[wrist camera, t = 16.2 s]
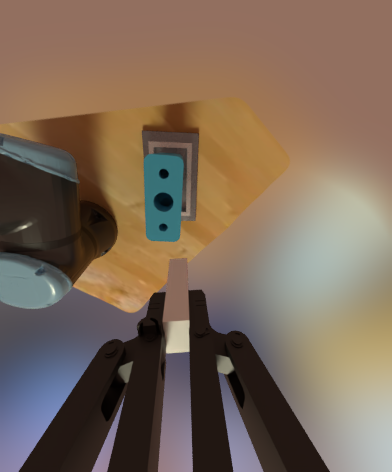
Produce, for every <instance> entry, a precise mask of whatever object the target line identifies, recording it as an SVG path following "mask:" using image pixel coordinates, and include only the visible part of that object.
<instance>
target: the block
mask: <svg viewBox="0 0 392 472" xmlns="http://www.w3.org/2000/svg"><path fill="white" fill-rule="evenodd" d="M183 169H184V163H183V157H182V156H181V155H180V154H174V153H154V154H148V155H147V156H146V157H145V158H144V186H145V217H146V236H147V238H148V239H149V240H151V241H168V242H175V241H177V240H178V239H179V238H180V226H181V207H182V188H183Z"/></svg>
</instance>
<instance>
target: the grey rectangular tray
mask: <svg viewBox="0 0 392 472" xmlns="http://www.w3.org/2000/svg"><path fill="white" fill-rule="evenodd" d="M198 138H199V133H179V132H158V131H142V139H143V152H144V158H145V157H146V156H147V155H148V154H154V153H174V154H180V155H181V156H182V157H183V163H184V169H183V188H182V207H181V221H195V217H196V191H197V165H198Z"/></svg>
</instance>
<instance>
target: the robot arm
mask: <svg viewBox="0 0 392 472" xmlns="http://www.w3.org/2000/svg"><path fill="white" fill-rule="evenodd" d="M79 184H80V181H79V180H78V175H77V166H76V161H75V159H74V157H73V156H72V155H71V154H70V153H68V152H67V151H65V150H62V149H59V148H56V147H52V146H49V145H45V144H41V143H38V142H34V141H30V140H26V139H22V138H18V137H14V136H10V135H6V134H2V133H0V301H2V302H4V303H6V304H9V305H12V306H16V307H21V308H29V309H36V308H44V307H48V306H51V305H53V304H54V303H56V302H58V301H59V300H60V299H61V298H62V297H63V296H64V295H65V294H66V293H67V292H69V291H70V290H71V288H72V286H73V285H74V283H75V282H76V281H77V279H78V278H79V277H80V276H81V274H82V273H83V272H84V271H85V269H86V268H87V267H88V266H89V264H90V263H91V262H92V261H93V260H94V259H96V258H99V257H101V256H103V255H105V254H106V253H107V252H109V251H110V249H111V248H112V247H113V245H114V244H115V242H116V240H117V227H116V224H115V221H114V220H113V218H112V217H111V215H110V214H109V213H108V212H107V211H106V210H105V209H103V208H102V207H100V206H98V205H96V204H94V203H91V202H87V201H80V198H79ZM137 330H138V336H137V337H136V338H134V339H132V340H129V341H127V342H124V343H123V342H122V341H121V340H118V339H114V340H111V341H108V342H106V343H105V344H104V345H103V346H102V347H101V348H100V349H99V351H98V352H97V354H96V356H95V357H94V359H93V360H92V361H91V363H90V364H89V366H88V368H87V369H86V370H85V372H84V374H83V375H82V377H81V378H80V380H79V381H78V383H77V384H76V386H75V387H74V389H73V390H72V392H71V393H70V395H69V396H68V398H67V399H66V401H65V403H64V404H63V405H62V407H61V408H60V410H59V411H58V413H57V414H56V416H55V417H54V419H53V420H52V422H51V423H50V425H49V426H48V428H47V430H46V431H45V433H44V434H43V436H42V437H41V439H40V440H39V442H38V443H37V445H36V446H35V448H34V449H33V451H32V452H31V454H30V455H29V457H28V458H27V460H26V461H25V463H24V464H23V466H22V467H21V469H20V470H19V472H91V471H92V469H93V467H94V464H95V462H96V460H97V458H98V455H99V453H100V451H101V448H102V446H103V444H104V441H105V439H106V437H107V435H108V432H109V430H110V428H111V426H112V423H113V421H114V419H115V416H116V414H117V412H118V410H119V407H120V405H121V402H122V400H123V398H124V396H125V398H124V402H123V407H122V411H121V415H120V420H119V424H118V429H117V432H116V437H115V441H114V446H113V450H112V454H111V458H110V463H109V467H108V471H107V472H158V461H159V448H160V434H161V421H162V408H163V396H164V382H165V369H166V359H165V356H166V353H177V352H190V385H191V420H192V450H193V451H192V454H193V472H233V467H232V461H231V454H230V447H229V441H228V435H227V428H226V421H225V415H224V409H223V402H222V395H221V389H220V382H219V376H218V372H220V373H224V375H225V378H226V380H227V382H228V385H229V388H230V390H231V393H232V395H233V398H234V400H235V402H236V405H237V407H238V410H239V412H240V415H241V417H242V419H243V422H244V424H245V427H246V429H247V432H248V434H249V437H250V439H251V441H252V444H253V446H254V449H255V451H256V454H257V456H258V459H259V461H260V464H261V466H262V469H263V471H264V472H330V471H329V470H328V468H327V466H326V465H325V463H324V461H323V460H322V459H321V456H320V455H319V453H318V452H317V450H316V448H315V447H314V445H313V443H312V442H311V440H310V439H309V437H308V435H307V434H306V432H305V430H304V429H303V427H302V426H301V424H300V422H299V421H298V419H297V417H296V416H295V414H294V413H293V411H292V409H291V408H290V406H289V404H288V403H287V401H286V399H285V398H284V396H283V395H282V393H281V391H280V390H279V388H278V387H277V385H276V383H275V382H274V380H273V378H272V377H271V375H270V374H269V372H268V370H267V369H266V367H265V365H264V364H263V362H262V361H261V359H260V357H259V356H258V354H257V352H256V351H255V349H254V347H253V346H252V344H251V343H250V341H249V339H248V338H247V337H246V335H245V334H243V333H242V332H239V331H231V332H229V333H228V334H227V335H226V334H221V333H218V332H216V331H215V330H213V329H212V328H211V326H210V324H209V318H208V312H207V306H206V298H205V294H204V293H203V291H202V290H191V291H190V290H188V270H187V258H182V259H170V263H169V271H168V279H167V288H166V292H162V293H154V294H153V295H152V296H151V298H150V302H149V306H148V311H147V315H146V317H145V318H144V319H142V320H141V321H140V322H139V323H138V325H137ZM125 393H126V394H125Z"/></svg>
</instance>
